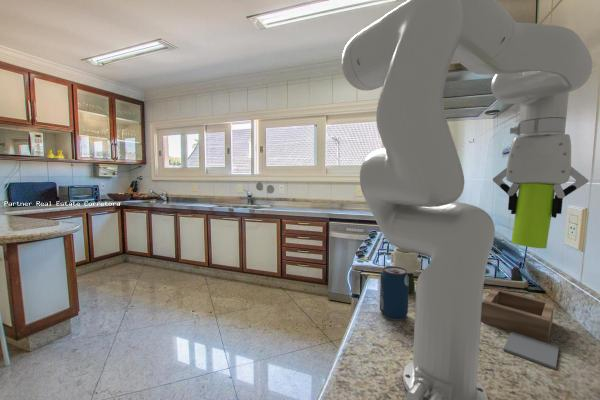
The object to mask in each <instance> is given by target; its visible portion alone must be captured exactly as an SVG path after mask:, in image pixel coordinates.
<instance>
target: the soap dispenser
mask: <svg viewBox="0 0 600 400" xmlns="http://www.w3.org/2000/svg"><path fill="white" fill-rule="evenodd" d="M555 195H556V193H555V191H554V185H552V184H539V183H521V184H520V185H519V189H518V191H517V197H518V199H517V206H516V213H515V214H514V221H513V227H512V235H511V243H512V244H515V245H518V246H523V247H527V248H528V247H529V248H535V249H547V245H548V239H549V232H550V227H551V220H552V217H551V215H552V204H553V199H554V198H555Z"/></svg>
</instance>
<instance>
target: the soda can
mask: <svg viewBox="0 0 600 400" xmlns="http://www.w3.org/2000/svg"><path fill="white" fill-rule="evenodd" d="M379 284H380V285H379V287H380V288H379V289H380V290H379V311H380V312H381V314H382V316H383V317H384V318H386V319H388V320H391V321H402V320H404V319H405V318H406V316H407V315H408V313H409V293H410V292H409V277H408V275H407V271H406V270H405V269H403V268H400V267H394V266H393V265H389V266H385V267H383V269H382V272H381V273H380V283H379Z"/></svg>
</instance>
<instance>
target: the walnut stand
mask: <svg viewBox="0 0 600 400" xmlns="http://www.w3.org/2000/svg"><path fill="white" fill-rule="evenodd" d="M554 309H555V303H554V302H551V301H547V300H543V299H540V298H535V297H532V296H527V295H523V294H519V293H515V292H510V291H507V290H502V289H498V288H492V289H491V291H490V292H489V293H488V294H487V295H486V297H485V298H484V299H482V313H481V323H485V324H488V325H491V326H493V327H496V328H500V329H503V330H507V331H509V332H514V333H518V334H521V335H524V336H527V337H530V338H533V339H536V340H539V341H542V342H545V343H548V344H549V340H550V336H551V331H552V327H553V323H554V322H553V320H554Z"/></svg>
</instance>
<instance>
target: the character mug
mask: <svg viewBox="0 0 600 400" xmlns="http://www.w3.org/2000/svg"><path fill="white" fill-rule="evenodd" d="M418 256H419V254H418V253H415V252H411V251H407V250H404V249H401V248H398V247H395V248H394V249H393V252H391V253H390V261H391V262H392V263H393V264H392V266H394V267H400V268H403V269H405V270H406V271H407V275H408V277H409V292H408V293H412V292H416V287H415V277H414V273H416V272H418V271H419V272H421V269H422V261H421V260H420V259H419V257H418Z"/></svg>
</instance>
